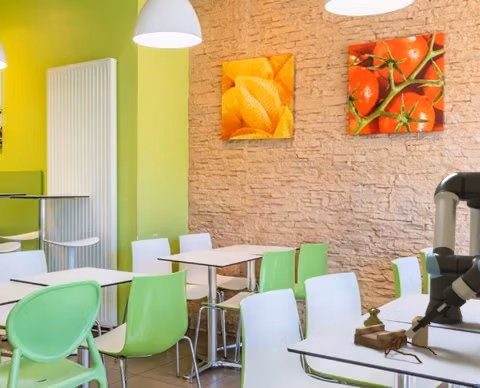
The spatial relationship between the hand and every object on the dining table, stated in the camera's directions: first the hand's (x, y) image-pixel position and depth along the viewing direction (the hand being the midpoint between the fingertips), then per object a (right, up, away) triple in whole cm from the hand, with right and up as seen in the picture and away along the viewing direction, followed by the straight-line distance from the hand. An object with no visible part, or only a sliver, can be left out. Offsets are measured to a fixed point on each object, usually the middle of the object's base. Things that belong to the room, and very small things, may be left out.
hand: (409, 334), depth 204 cm
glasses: (-4, -4, -15) cm, 16 cm away
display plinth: (-10, -3, -1) cm, 11 cm away
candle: (+3, -4, -2) cm, 5 cm away
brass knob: (-10, -3, +14) cm, 17 cm away
